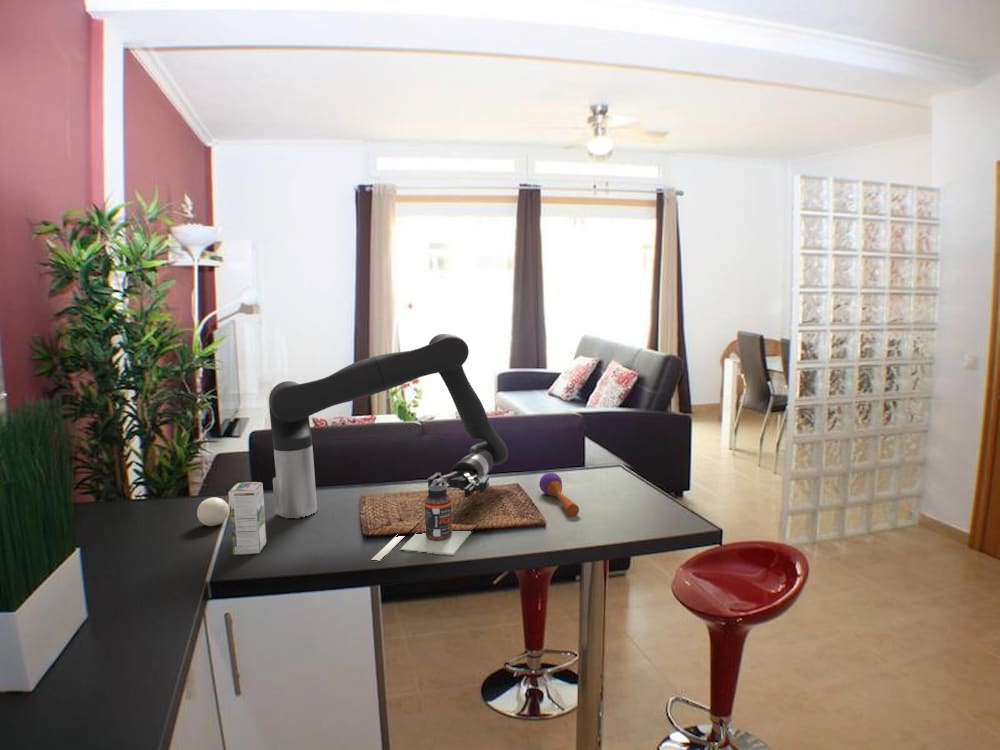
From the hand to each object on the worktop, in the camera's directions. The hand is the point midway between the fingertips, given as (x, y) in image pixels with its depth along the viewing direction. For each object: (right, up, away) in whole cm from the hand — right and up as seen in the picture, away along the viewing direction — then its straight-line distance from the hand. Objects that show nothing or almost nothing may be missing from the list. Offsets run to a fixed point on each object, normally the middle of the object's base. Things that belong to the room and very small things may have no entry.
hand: (448, 492), depth 152 cm
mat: (-2, -9, -5) cm, 11 cm away
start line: (-11, -10, -5) cm, 16 cm away
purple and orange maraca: (+27, -6, +16) cm, 32 cm away
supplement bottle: (-2, -9, -5) cm, 10 cm away
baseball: (-57, -9, +7) cm, 59 cm away
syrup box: (-43, -11, -8) cm, 45 cm away
